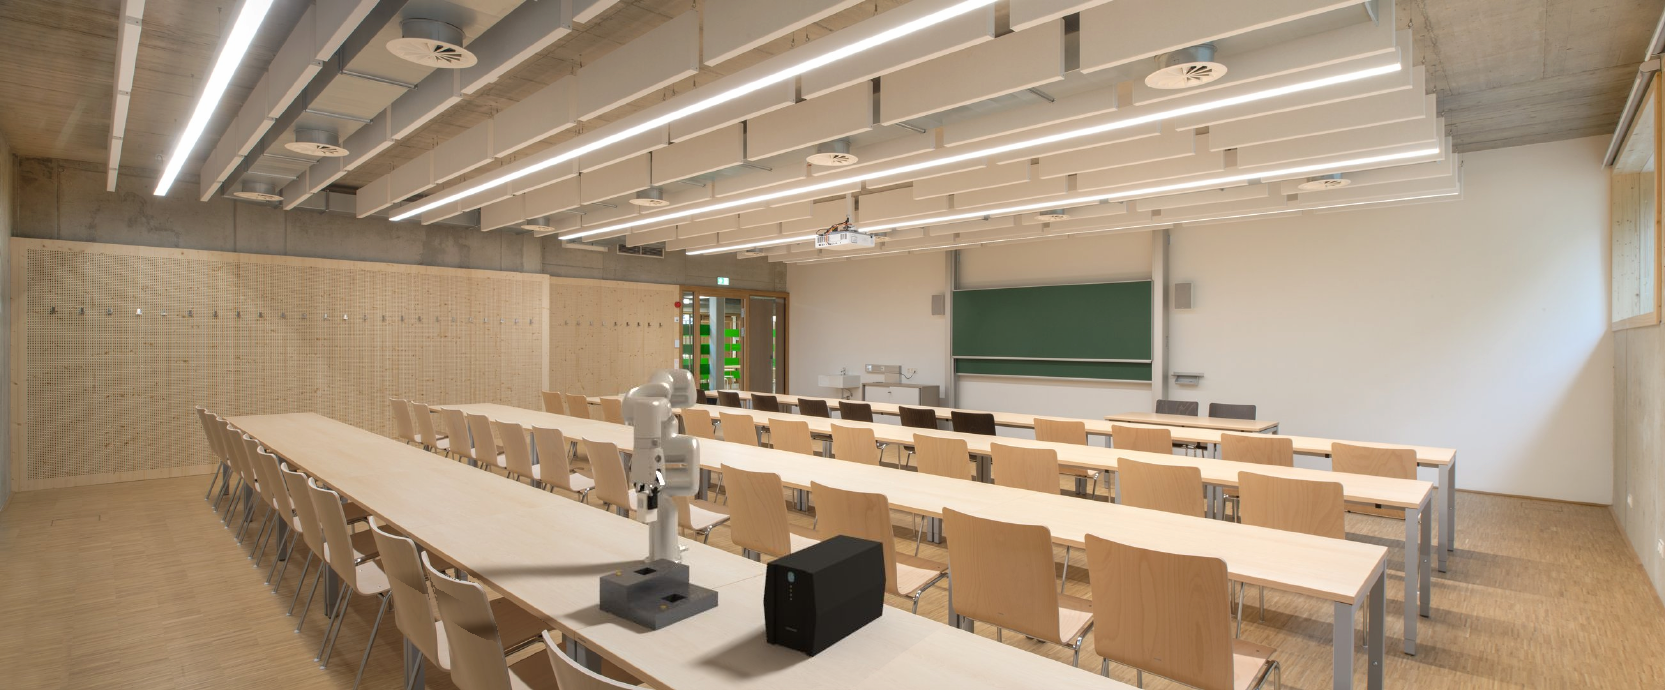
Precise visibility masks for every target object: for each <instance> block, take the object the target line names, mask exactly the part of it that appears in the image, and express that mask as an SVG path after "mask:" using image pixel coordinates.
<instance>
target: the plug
mask: <svg viewBox="0 0 1665 690" xmlns="http://www.w3.org/2000/svg"><path fill="white" fill-rule="evenodd" d="M647 496H649V491H648V490H647V489H646V491H642V492H637V493H636V521H637V522H639V523H640V522H641V523H645V524H649V522H652V521H656V520H657V509H652V510H648V509H647Z"/></svg>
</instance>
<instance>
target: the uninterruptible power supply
mask: <svg viewBox="0 0 1665 690" xmlns="http://www.w3.org/2000/svg"><path fill="white" fill-rule="evenodd" d="M885 564H886V563H885V555H884V544H883V542H882V541H876V540H871V539H866V538H862V537H861V538H860V537H856V536H855V537H854V536H850V535H844V534H838V535H835V536H832V537H830V538H828V539H826V540H825V539H824V540H823V541H820V542H818V543H814V544H812V545H810V546H809V545H808V546H807V547H805V548H801V549H799V550H797V551H794V552H791V553H789V554H786V555H783V556H782V557H779V558H776V559H773V560H770V561H767V563H766V569H765V570H766V571H765V580H764V581H765V582H764V591H763V601H762V603H763V613H764V626H765V638H766V644H769V645H772V646H774V645H776V646H779V647H780V646H781V647H783V648H786V649H789V650H792V651H795V652H799V653H801V654H802V653H803V654H805V656H806V657H810V658H814V657H815V656H817V655H819V654H821V653H823V652H824V651H826V650H827V649H828V648H830V647H832V646H834V645H835V644H838V643H839V642H841V641H842V640H843V639H846V638H847V637H848V636H850V635H852V634H854V633H856V632H857V631H859V630H861V629H862V628H864V627H865V626H867V625H869V624H870V623H873V622H874V621H875V620H877V619H879V618H880V617H882V616H883V612H884V604H885V592H886V587H887V586H886V585H887V575H886V566H885Z"/></svg>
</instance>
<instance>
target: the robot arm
mask: <svg viewBox="0 0 1665 690" xmlns="http://www.w3.org/2000/svg"><path fill="white" fill-rule="evenodd" d="M697 399H698V392H697V388H696V382H695V378H694V376H693V373H692V372H691V371H689V369H686V368H685V369H684V368H661V369H656V370H654V371H652V372H651V374H650V375H649V377H648V380H647V382H646V383H645V384H642V385H639V386H636V387H633V388H632V389H629V390H628V391H627V392H626V393H625V395H624V397H623V400H622V402H621V405H620V415H621V419H622V420H623V421H624V422H626V423H628V424H629V423H630V424H633V448H632V455H631V464H630V465H631V467H630V468H631V469H630V470H631V471H630V473H631V477H630V482H631V483H632V485H633V486H634V489H635V494H637V492H642V491H647V490H648V491H649V496H647V509H648V510H652V509H657V520H656V521H652V522H648V556H646V557H645V558H644V559H643V564H645V563H648V562H651V561H655V560H658V559H661V558H663V559H667V560H670V561H674V562H677V563H681V564H682V562H683V556H682V555H681V554H682V553H683V552H687V551H688V550H689V548H690V547H689V545H688V544H685V545H679V544H678V543H679V537H678V536H679V533H678V532H679V523H678V522H679V509H678V506H677V504H676V502H675V501H674V500H673V499H672V498H671V497H692V496H695V495H697V494H698V492H699V488H700V478H701V477H700V476H701V475H700V474H701V473H700V472H701V471H700V468H701V467H700V464H701V462H700V461H701V451H700V450H701V448H700V443H699V439H698V438H697V437H695V436H694V435H679V421H678V419H677V417H676V416H675V415H674V413H673V412H672V410H673V409H691V408H693V407H694V406H695V405H696V403H697ZM672 464H673V465H675V464H676V465H679V464H680V465H681V464H683V465H685V466H686V467H685V466H684V467H683V466H682V467H666V465H672Z"/></svg>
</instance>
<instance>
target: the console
mask: <svg viewBox="0 0 1665 690" xmlns="http://www.w3.org/2000/svg"><path fill="white" fill-rule="evenodd" d="M718 606H719V591H717V590H714V589H711V588H706V587H704V586H700V585H697V584H695V583H690V565H688V564H685V563H682V562H681V563H677V562H674V561H670V560H667V559H663V558H661V559H658V560H655V561H651V562H648V563H641V564H639V565H635V566H632V567H629V568H624V569H622V570H619V571H615V572H611V573H609V574H606V575H602V576H600V577H599V610H601V611H602V612H606V613H608V614H611V615H613V616H615V617H619V618H622V619H625V620H627V621H630V622H632V623H634V624H638V625H641V626H643V627H645V628H648V629H651V630H653V631H658V630H660V629H663V628H665V627H668V626H671V625H673V624H676V623H677V622H681V621H683V620H686V619H689V618H690V617H694V616H695V615H699V614H702V613H704V612H707V611H708V610H711V609H713V608H716V607H718Z"/></svg>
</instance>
